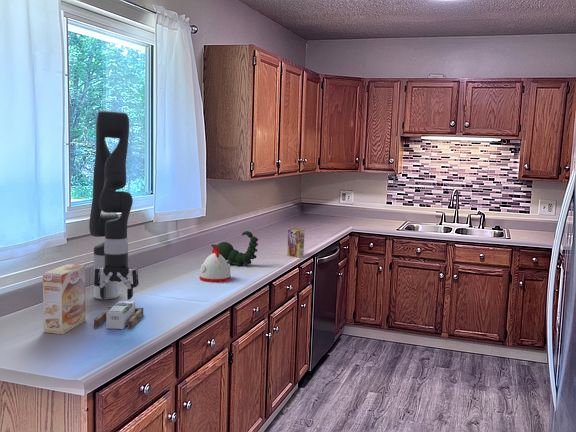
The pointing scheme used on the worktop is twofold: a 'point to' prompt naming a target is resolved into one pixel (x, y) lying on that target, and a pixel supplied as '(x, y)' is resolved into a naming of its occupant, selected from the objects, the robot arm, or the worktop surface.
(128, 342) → the worktop surface
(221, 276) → the kitchen timer
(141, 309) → the walnut U-rest
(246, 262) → the toy figurine
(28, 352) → the worktop surface
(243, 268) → the worktop surface
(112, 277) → the robot arm
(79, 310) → the coffeecake box
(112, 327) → the syrup box
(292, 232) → the candy box
